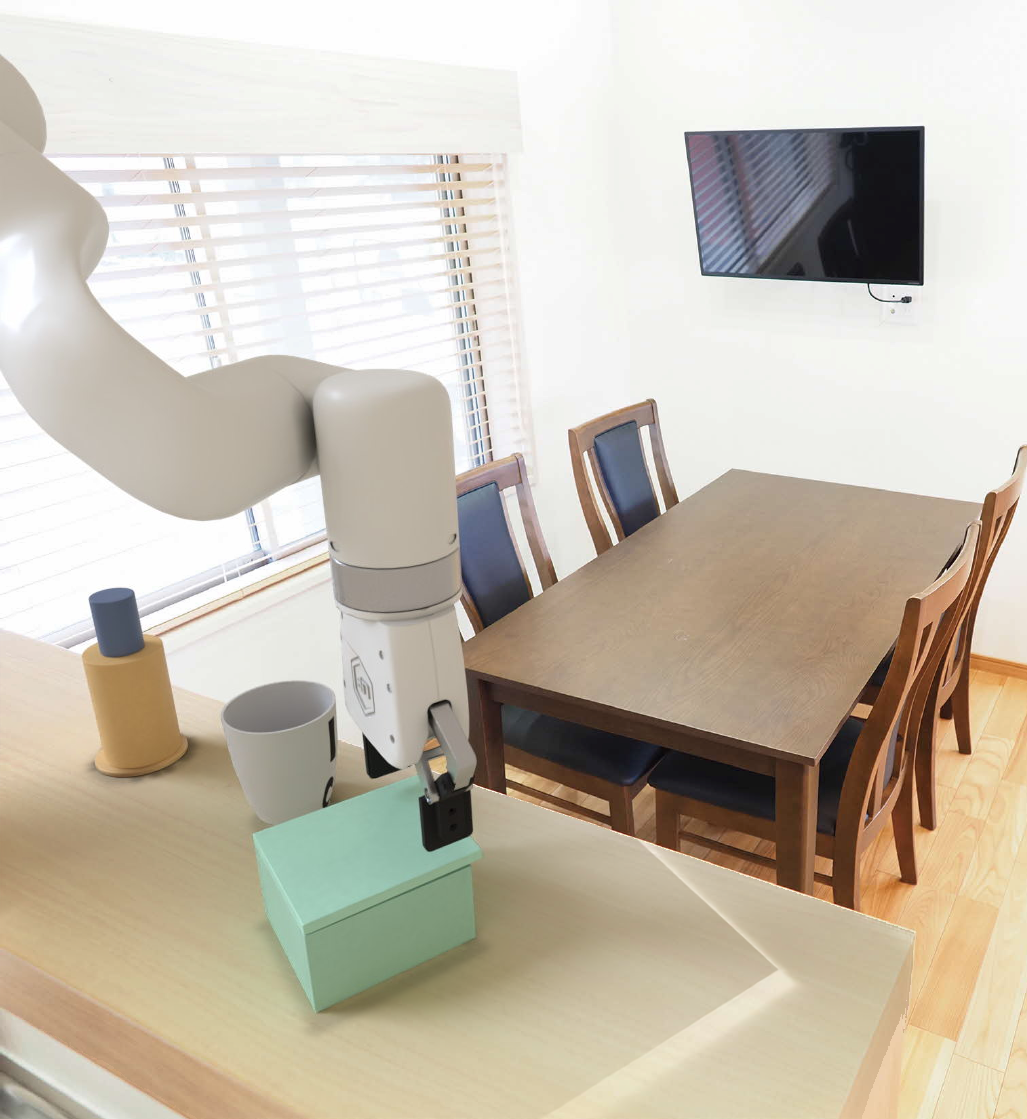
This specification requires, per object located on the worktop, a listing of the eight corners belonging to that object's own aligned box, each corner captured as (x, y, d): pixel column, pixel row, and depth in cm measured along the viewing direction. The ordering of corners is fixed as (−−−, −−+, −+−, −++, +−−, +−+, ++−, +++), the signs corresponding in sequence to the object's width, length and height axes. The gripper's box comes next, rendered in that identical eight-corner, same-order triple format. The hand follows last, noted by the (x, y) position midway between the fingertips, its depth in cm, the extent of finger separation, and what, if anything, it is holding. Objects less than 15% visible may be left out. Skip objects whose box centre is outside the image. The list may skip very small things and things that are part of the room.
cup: (356, 825, 76) (343, 718, 73) (244, 855, 72) (224, 744, 69) (339, 773, 83) (326, 672, 79) (234, 798, 79) (216, 693, 75)
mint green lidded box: (415, 863, 73) (408, 788, 70) (476, 945, 65) (472, 866, 63) (266, 923, 66) (253, 843, 64) (316, 1022, 59) (304, 937, 56)
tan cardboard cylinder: (111, 776, 80) (74, 615, 74) (99, 745, 84) (64, 590, 78) (188, 754, 83) (159, 599, 78) (173, 725, 88) (144, 576, 82)
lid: (419, 782, 71) (418, 773, 70) (483, 858, 63) (482, 848, 63) (253, 843, 64) (251, 833, 63) (304, 936, 56) (302, 925, 56)
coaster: (102, 787, 79) (101, 783, 79) (89, 748, 84) (88, 745, 84) (196, 759, 83) (195, 755, 83) (178, 724, 88) (177, 721, 88)
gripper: (290, 543, 62) (319, 764, 69) (391, 642, 50) (415, 899, 56) (403, 523, 67) (420, 732, 73) (520, 609, 55) (528, 850, 61)
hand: (418, 804), depth 65 cm, fingers open, 9 cm apart
